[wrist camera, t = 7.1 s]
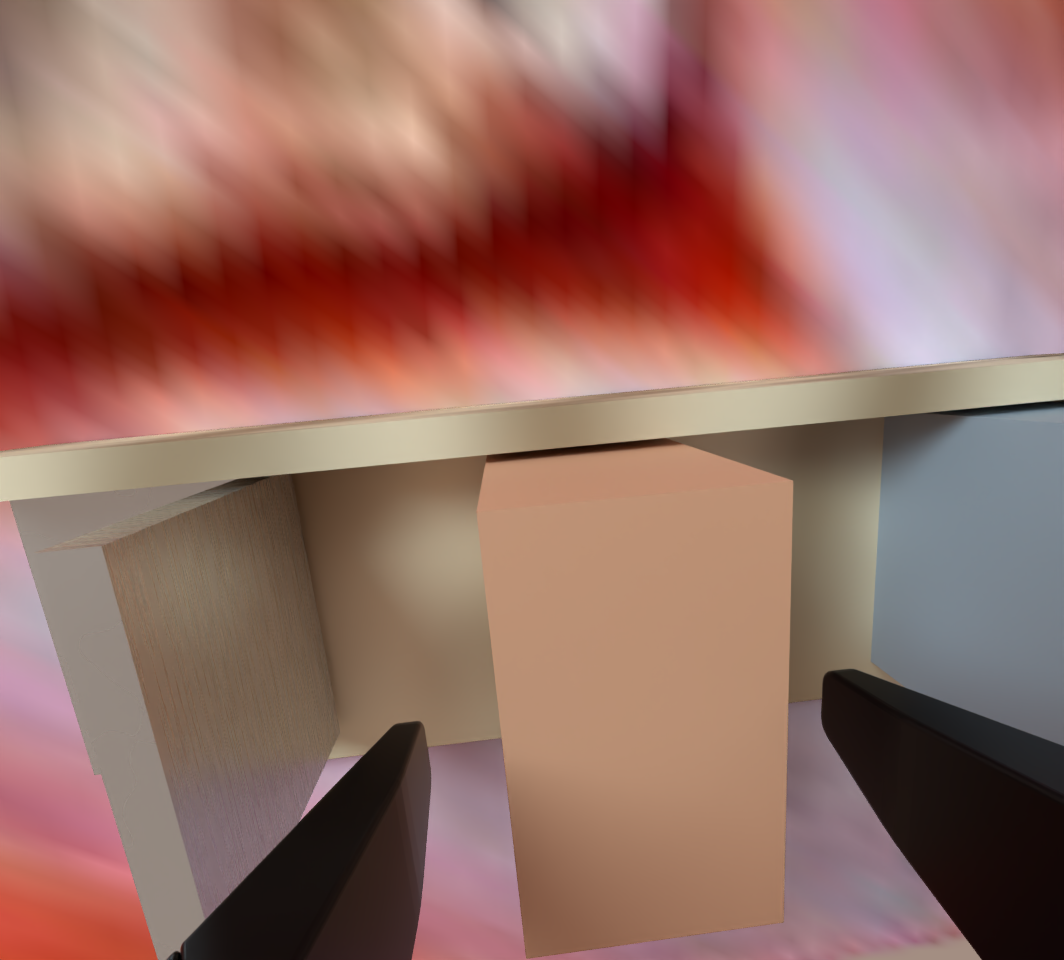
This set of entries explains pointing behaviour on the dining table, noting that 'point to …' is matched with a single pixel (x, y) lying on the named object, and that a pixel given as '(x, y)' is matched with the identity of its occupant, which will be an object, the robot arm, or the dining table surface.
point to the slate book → (975, 561)
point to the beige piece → (453, 493)
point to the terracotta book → (640, 687)
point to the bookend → (188, 675)
